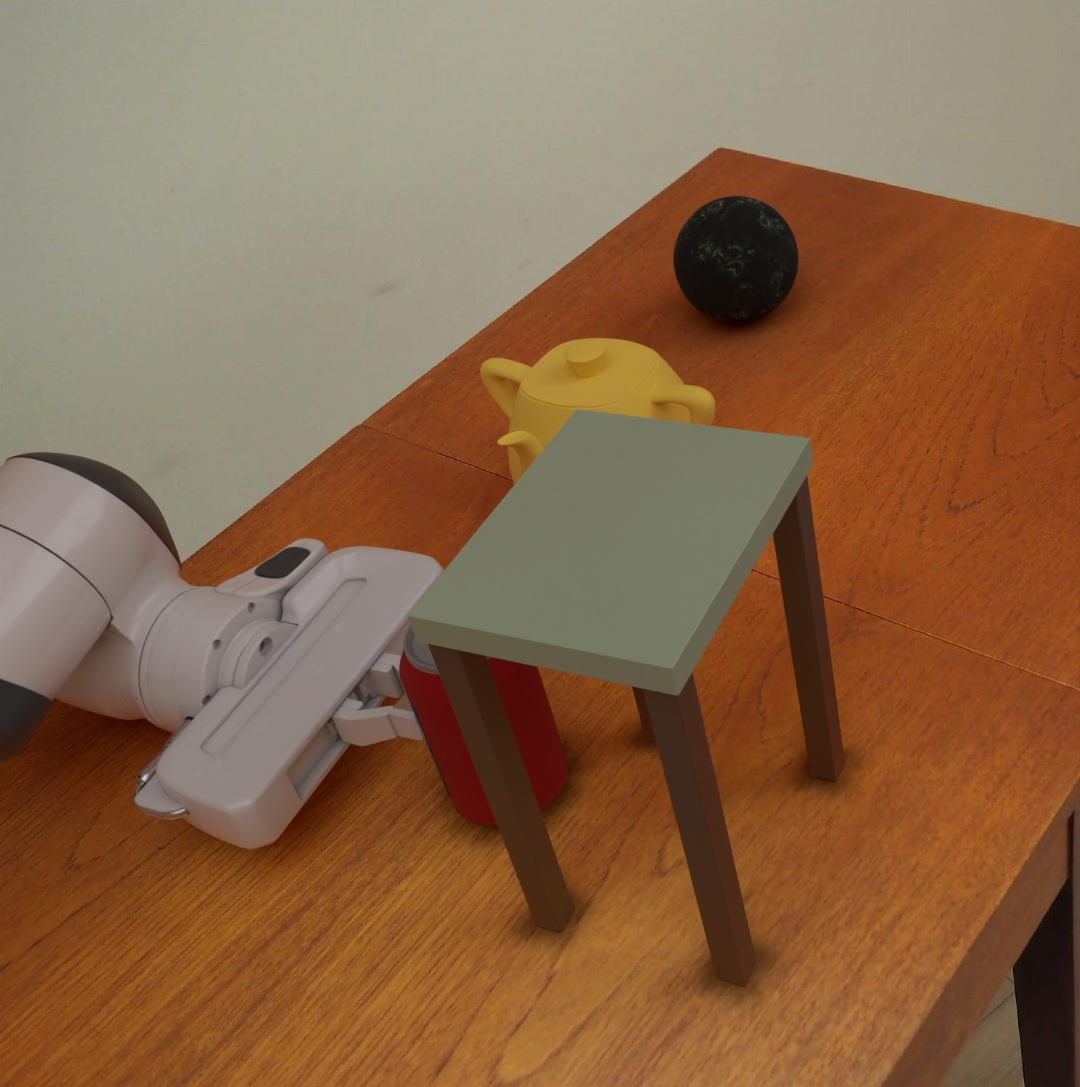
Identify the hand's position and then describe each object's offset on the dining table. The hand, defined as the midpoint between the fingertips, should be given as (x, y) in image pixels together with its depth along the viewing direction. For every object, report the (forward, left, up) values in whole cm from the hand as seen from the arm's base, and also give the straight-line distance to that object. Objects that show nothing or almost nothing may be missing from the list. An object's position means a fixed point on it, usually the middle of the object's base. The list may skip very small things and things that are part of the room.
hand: (434, 712), depth 75 cm
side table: (+9, -12, -5) cm, 16 cm away
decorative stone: (+39, +33, -5) cm, 51 cm away
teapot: (+18, +17, -5) cm, 25 cm away
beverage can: (+2, -3, -5) cm, 6 cm away
